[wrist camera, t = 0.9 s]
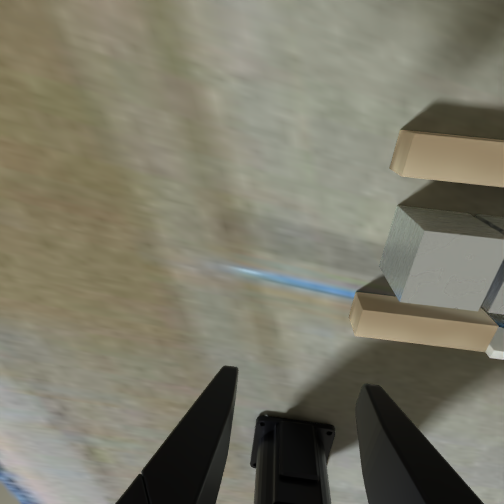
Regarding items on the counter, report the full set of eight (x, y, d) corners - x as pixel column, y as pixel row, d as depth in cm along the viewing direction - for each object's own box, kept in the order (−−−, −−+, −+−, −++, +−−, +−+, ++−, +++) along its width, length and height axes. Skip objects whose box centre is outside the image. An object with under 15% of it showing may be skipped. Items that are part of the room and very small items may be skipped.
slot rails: (468, 330, 22) (485, 352, 20) (349, 316, 22) (355, 335, 20) (557, 145, 16) (592, 151, 15) (400, 129, 17) (414, 133, 15)
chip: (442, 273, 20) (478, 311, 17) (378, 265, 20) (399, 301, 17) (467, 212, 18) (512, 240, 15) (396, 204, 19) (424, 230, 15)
